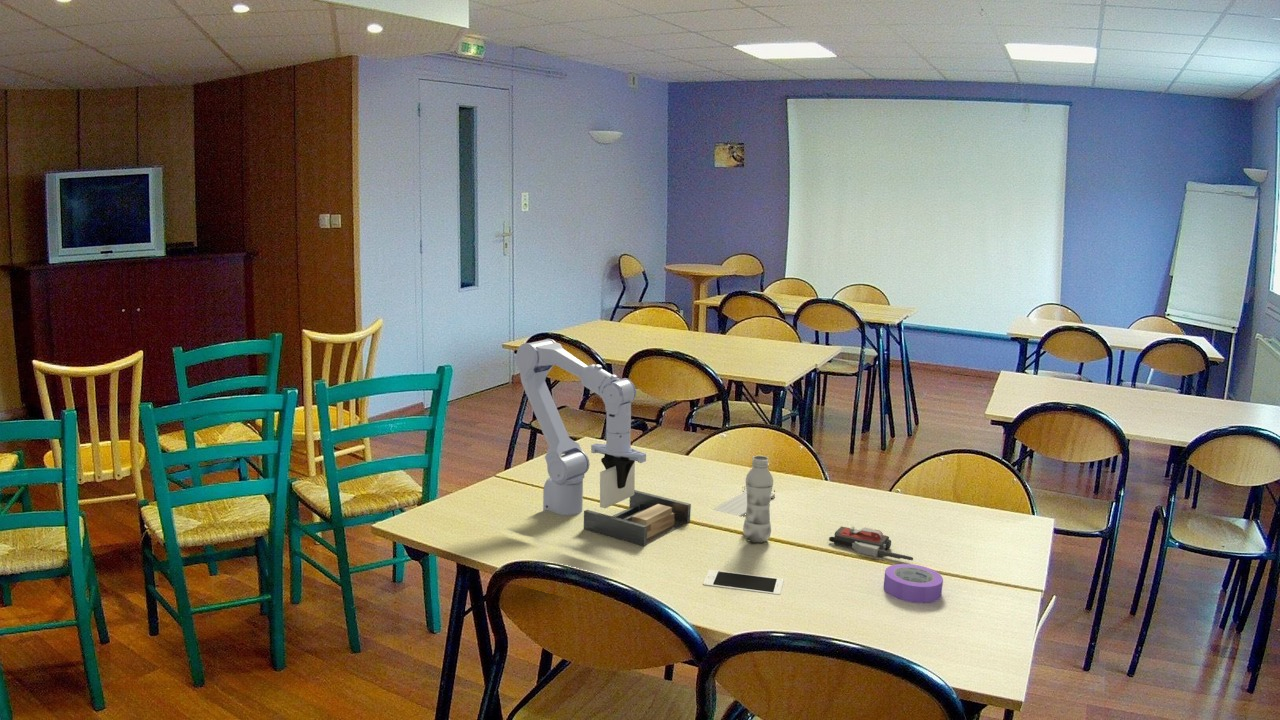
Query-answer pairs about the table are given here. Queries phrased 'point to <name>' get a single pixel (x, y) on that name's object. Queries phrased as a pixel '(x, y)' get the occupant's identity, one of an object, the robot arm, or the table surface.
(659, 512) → the offcut stack
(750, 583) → the cell phone
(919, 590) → the masking tape
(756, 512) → the plastic bottle
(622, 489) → the white block
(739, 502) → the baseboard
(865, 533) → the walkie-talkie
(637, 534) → the rack
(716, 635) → the table surface
